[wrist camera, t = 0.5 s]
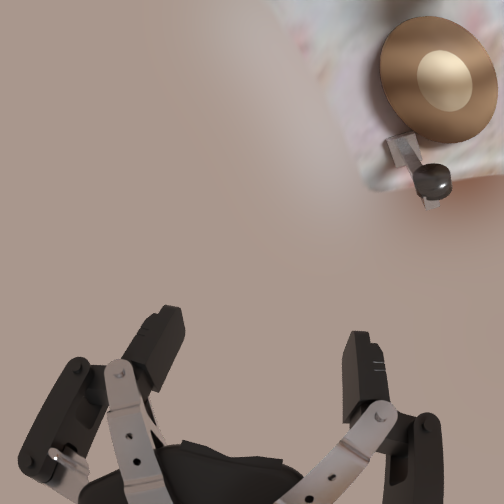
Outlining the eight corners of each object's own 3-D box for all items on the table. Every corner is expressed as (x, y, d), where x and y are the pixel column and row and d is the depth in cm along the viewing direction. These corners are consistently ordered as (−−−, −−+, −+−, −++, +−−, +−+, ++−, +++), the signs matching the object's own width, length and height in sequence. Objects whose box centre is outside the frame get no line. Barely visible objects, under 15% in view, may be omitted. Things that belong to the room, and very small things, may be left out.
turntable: (354, 33, 20) (356, 33, 19) (468, 10, 12) (472, 10, 11) (406, 152, 28) (408, 156, 28) (502, 127, 20) (506, 130, 19)
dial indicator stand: (385, 138, 30) (410, 193, 21) (418, 129, 27) (456, 180, 18) (394, 164, 32) (418, 226, 23) (425, 155, 29) (459, 214, 20)
